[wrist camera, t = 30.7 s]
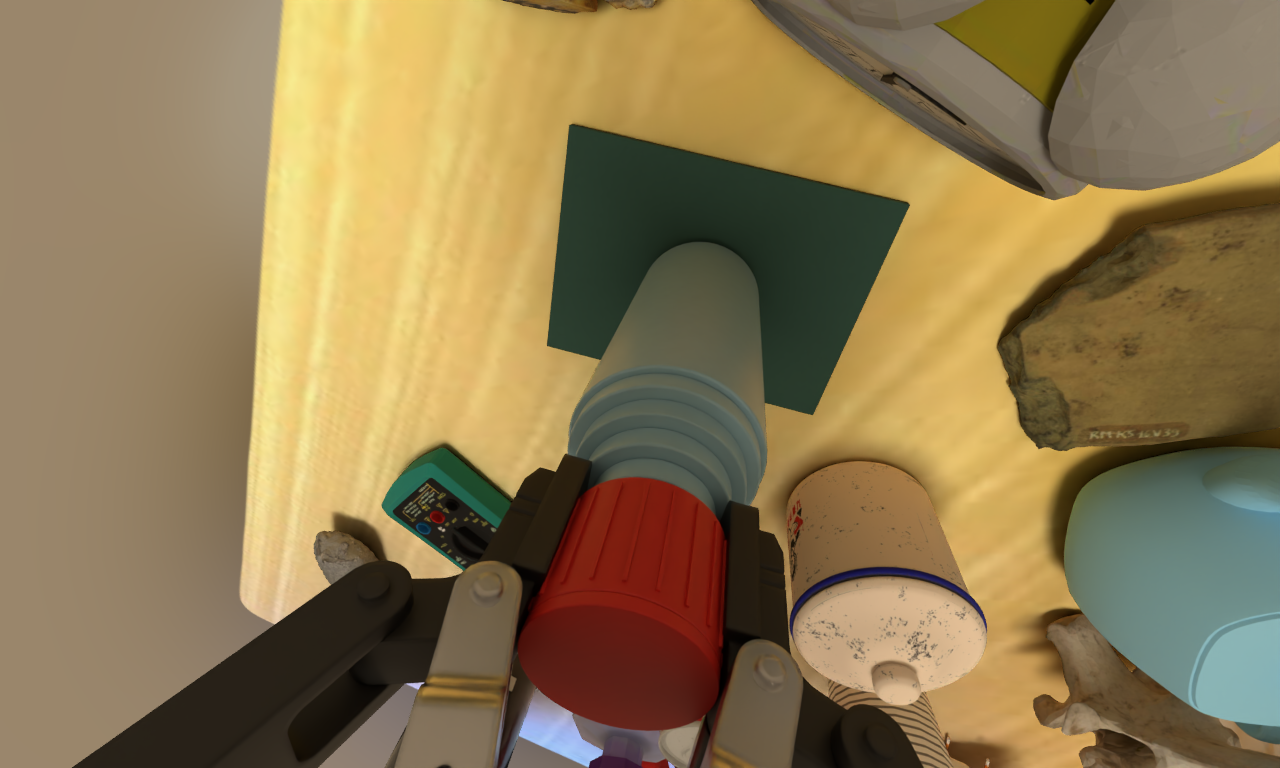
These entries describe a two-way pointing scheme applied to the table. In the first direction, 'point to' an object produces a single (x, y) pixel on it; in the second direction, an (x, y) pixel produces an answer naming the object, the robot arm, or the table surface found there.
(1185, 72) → the alarm clock
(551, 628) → the cap
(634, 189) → the mat
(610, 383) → the bottle
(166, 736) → the robot arm
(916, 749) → the cup
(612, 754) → the potion bottle
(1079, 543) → the teapot
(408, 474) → the digital multimeter
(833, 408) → the table surface
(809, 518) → the teacup with lid
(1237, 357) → the brown stone block
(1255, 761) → the vertebra
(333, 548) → the rock
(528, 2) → the decorative figurine
